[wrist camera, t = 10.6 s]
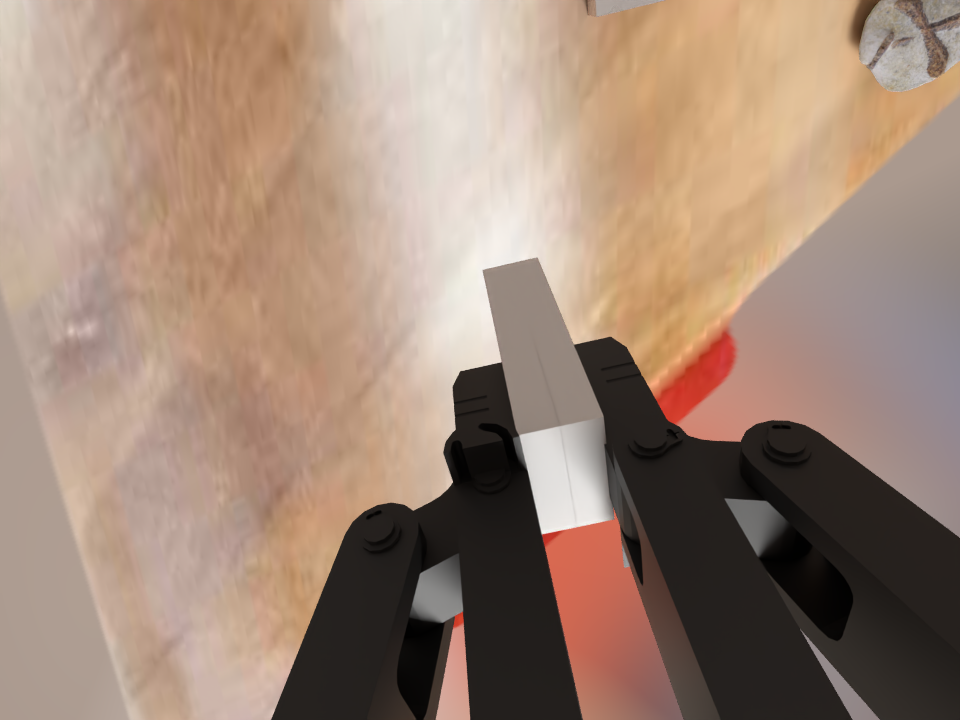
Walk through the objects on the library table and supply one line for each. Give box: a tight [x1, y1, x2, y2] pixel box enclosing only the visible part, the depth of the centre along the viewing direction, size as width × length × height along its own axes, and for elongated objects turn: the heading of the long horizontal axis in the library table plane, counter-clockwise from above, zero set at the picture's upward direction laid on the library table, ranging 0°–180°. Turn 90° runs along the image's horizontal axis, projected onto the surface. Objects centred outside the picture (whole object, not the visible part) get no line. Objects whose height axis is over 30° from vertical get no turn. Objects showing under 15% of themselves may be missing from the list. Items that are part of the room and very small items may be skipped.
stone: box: [859, 0, 960, 92], centre depth 35 cm, size 10×7×3 cm
